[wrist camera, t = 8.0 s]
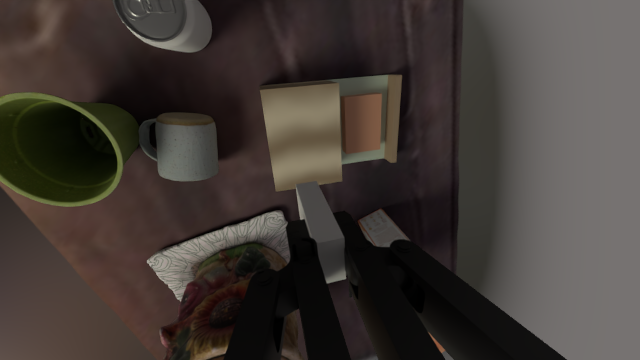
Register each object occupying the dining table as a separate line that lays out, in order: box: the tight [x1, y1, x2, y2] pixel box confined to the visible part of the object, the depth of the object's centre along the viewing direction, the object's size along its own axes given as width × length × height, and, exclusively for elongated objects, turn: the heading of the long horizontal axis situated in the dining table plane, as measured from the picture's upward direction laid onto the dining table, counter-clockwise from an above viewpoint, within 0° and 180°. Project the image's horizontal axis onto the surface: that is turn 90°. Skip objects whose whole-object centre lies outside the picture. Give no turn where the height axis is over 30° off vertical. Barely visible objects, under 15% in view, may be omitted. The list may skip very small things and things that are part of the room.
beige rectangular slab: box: [260, 80, 342, 191], centre depth 38 cm, size 14×10×7 cm
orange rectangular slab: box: [341, 92, 382, 154], centre depth 41 cm, size 9×6×2 cm, turn 4°
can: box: [113, 0, 212, 53], centre depth 27 cm, size 6×6×12 cm
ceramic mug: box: [139, 112, 219, 181], centre depth 34 cm, size 11×8×8 cm
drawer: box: [328, 74, 402, 164], centre depth 41 cm, size 14×11×3 cm
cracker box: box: [358, 208, 445, 353], centre depth 45 cm, size 14×6×21 cm, turn 24°
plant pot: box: [0, 92, 139, 206], centre depth 30 cm, size 12×12×11 cm
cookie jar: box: [147, 210, 305, 360], centre depth 36 cm, size 25×25×32 cm
